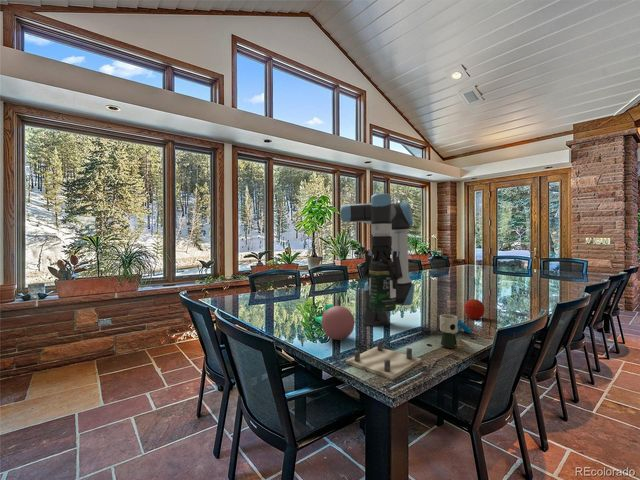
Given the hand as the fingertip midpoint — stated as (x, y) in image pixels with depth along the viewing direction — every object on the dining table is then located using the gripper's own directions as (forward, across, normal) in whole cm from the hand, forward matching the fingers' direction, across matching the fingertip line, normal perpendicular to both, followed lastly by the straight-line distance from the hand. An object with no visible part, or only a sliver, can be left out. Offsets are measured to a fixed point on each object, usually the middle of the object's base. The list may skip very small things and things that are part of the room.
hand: (382, 296), depth 118 cm
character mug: (+25, +11, +33) cm, 43 cm away
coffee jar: (+6, 0, 0) cm, 6 cm away
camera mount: (+26, -54, +26) cm, 65 cm away
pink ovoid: (+25, -33, +10) cm, 43 cm away
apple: (+25, +3, +88) cm, 92 cm away
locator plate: (+25, 0, 0) cm, 25 cm away
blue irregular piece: (+25, +7, +56) cm, 62 cm away
